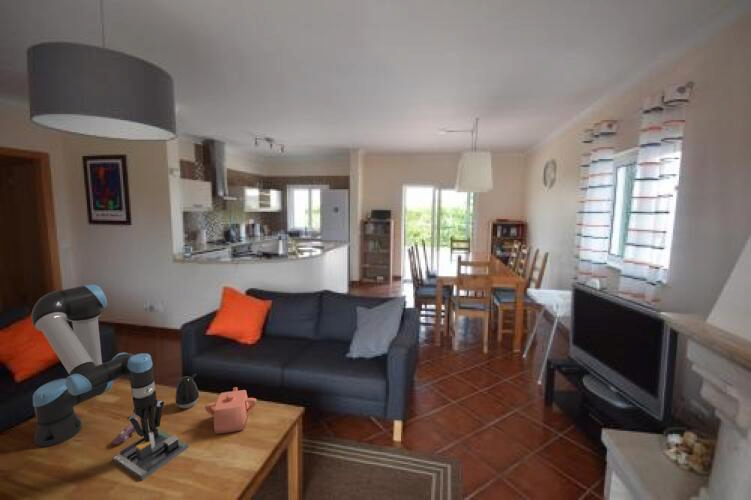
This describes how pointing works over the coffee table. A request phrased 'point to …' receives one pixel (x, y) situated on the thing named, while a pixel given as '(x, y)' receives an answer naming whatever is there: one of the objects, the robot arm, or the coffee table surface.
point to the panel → (151, 454)
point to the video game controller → (125, 434)
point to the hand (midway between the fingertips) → (151, 446)
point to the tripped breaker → (143, 449)
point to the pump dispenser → (186, 392)
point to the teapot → (231, 411)
